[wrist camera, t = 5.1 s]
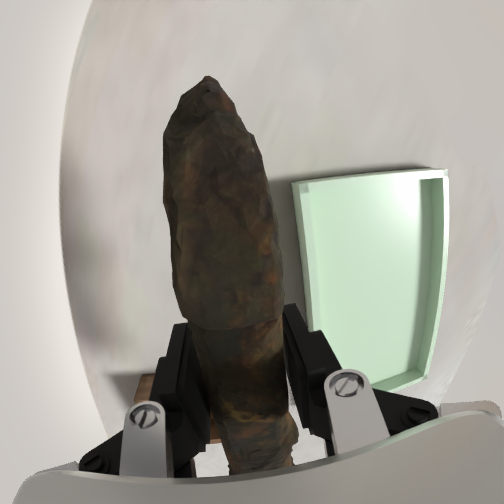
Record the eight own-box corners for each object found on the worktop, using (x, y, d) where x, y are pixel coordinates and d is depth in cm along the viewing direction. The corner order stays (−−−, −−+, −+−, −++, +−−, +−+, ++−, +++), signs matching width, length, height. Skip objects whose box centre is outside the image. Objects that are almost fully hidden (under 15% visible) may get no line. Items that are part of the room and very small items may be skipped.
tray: (290, 182, 23) (298, 184, 20) (431, 167, 23) (447, 169, 21) (312, 402, 30) (317, 416, 28) (417, 367, 31) (426, 378, 28)
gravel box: (141, 374, 27) (133, 402, 23) (214, 367, 27) (213, 396, 23) (166, 421, 29) (162, 448, 25) (230, 415, 30) (232, 443, 26)
